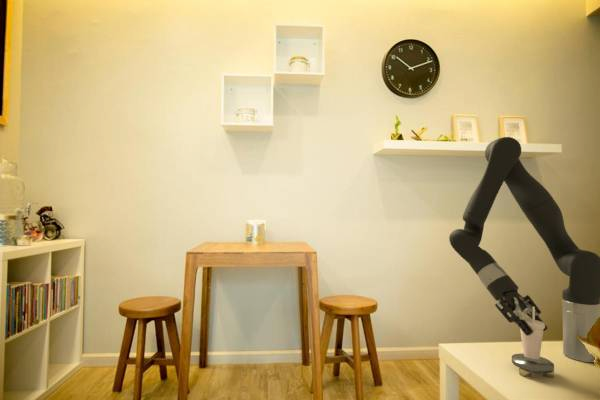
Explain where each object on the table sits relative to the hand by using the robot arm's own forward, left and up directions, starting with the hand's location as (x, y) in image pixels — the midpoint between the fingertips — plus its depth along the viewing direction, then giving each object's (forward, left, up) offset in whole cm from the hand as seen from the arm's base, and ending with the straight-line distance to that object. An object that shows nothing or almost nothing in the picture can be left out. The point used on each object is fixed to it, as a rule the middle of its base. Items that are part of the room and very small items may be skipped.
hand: (537, 332), depth 98 cm
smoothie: (-1, -2, -8) cm, 8 cm away
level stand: (-1, -1, -12) cm, 12 cm away
